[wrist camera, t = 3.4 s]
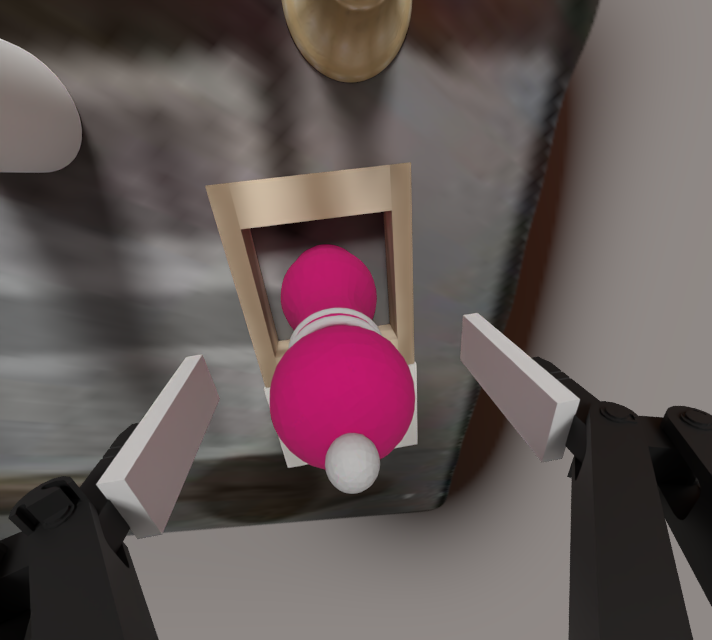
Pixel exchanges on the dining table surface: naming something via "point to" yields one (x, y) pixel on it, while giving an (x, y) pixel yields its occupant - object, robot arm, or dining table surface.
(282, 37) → the dining table surface
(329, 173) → the maple frame
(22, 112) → the cylindrical container
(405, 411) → the pepper mill
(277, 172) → the dining table surface
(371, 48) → the hand bell
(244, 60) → the dining table surface
